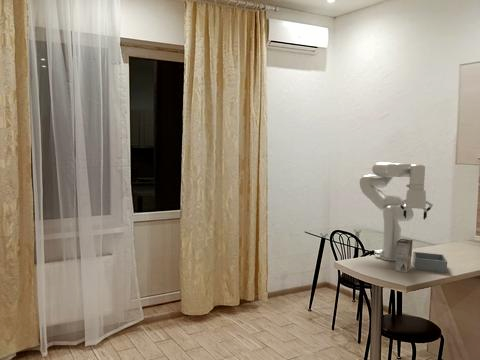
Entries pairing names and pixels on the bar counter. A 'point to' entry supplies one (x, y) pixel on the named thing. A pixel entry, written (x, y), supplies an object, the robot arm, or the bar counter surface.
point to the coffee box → (403, 255)
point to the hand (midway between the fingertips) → (414, 218)
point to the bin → (429, 262)
